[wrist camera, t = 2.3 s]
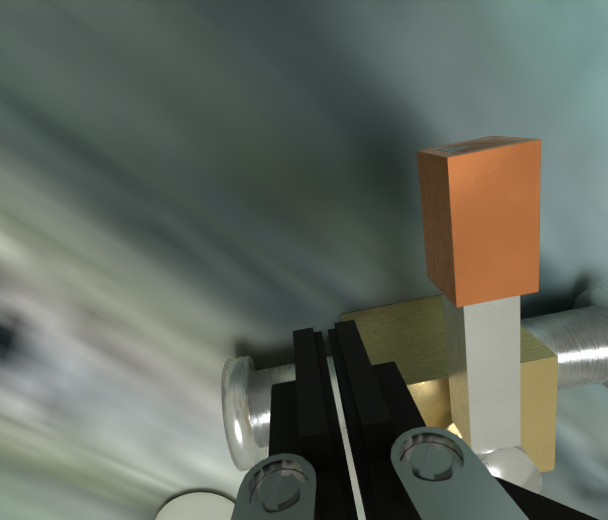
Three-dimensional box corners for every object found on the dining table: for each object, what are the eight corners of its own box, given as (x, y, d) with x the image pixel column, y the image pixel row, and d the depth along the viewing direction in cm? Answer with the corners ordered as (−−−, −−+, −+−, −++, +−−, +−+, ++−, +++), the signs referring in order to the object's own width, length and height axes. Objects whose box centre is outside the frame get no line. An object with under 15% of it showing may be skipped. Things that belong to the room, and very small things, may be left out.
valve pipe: (228, 335, 26) (205, 433, 18) (591, 265, 26) (732, 331, 18) (252, 420, 28) (242, 540, 20) (585, 356, 28) (708, 451, 20)
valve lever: (405, 152, 14) (433, 160, 12) (504, 133, 14) (553, 136, 12) (437, 477, 20) (461, 533, 17) (508, 464, 20) (544, 517, 17)
